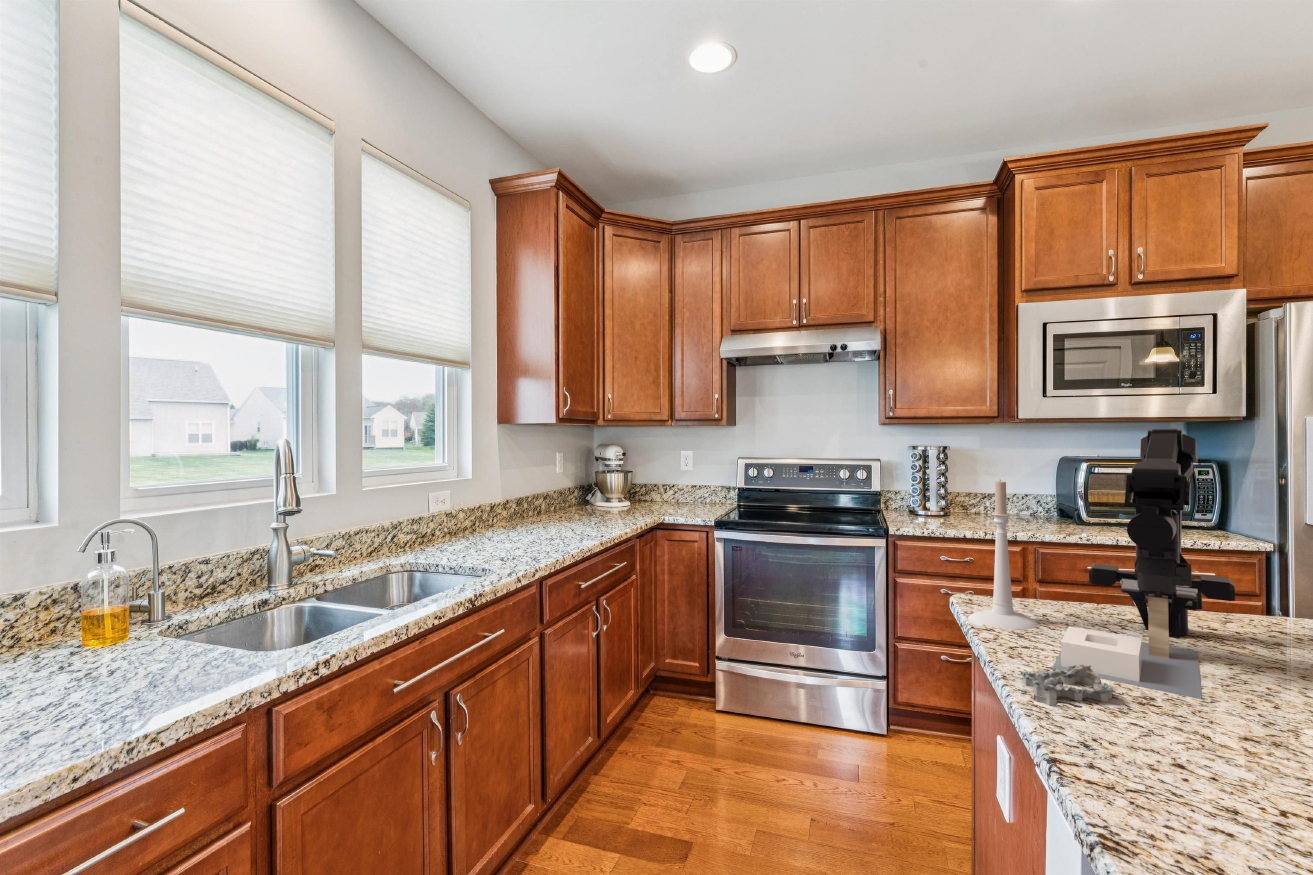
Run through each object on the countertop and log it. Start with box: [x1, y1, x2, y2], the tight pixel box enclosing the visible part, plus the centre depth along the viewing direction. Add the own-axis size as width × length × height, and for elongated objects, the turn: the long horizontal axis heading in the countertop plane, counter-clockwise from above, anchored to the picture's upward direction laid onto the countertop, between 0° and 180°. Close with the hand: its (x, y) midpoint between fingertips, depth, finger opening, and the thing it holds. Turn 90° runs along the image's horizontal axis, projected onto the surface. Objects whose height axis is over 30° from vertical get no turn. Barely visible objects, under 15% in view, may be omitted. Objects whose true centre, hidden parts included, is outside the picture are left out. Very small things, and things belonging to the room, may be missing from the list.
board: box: [1051, 641, 1203, 700], centre depth 99 cm, size 24×18×1 cm
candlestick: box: [967, 480, 1039, 631], centre depth 121 cm, size 13×13×30 cm
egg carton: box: [1018, 665, 1118, 709], centre depth 88 cm, size 11×8×4 cm
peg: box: [1147, 591, 1170, 658], centre depth 101 cm, size 3×3×11 cm
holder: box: [1060, 626, 1143, 682], centre depth 97 cm, size 10×10×4 cm
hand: (1158, 631), depth 101 cm, fingers closed on peg, 3 cm apart
